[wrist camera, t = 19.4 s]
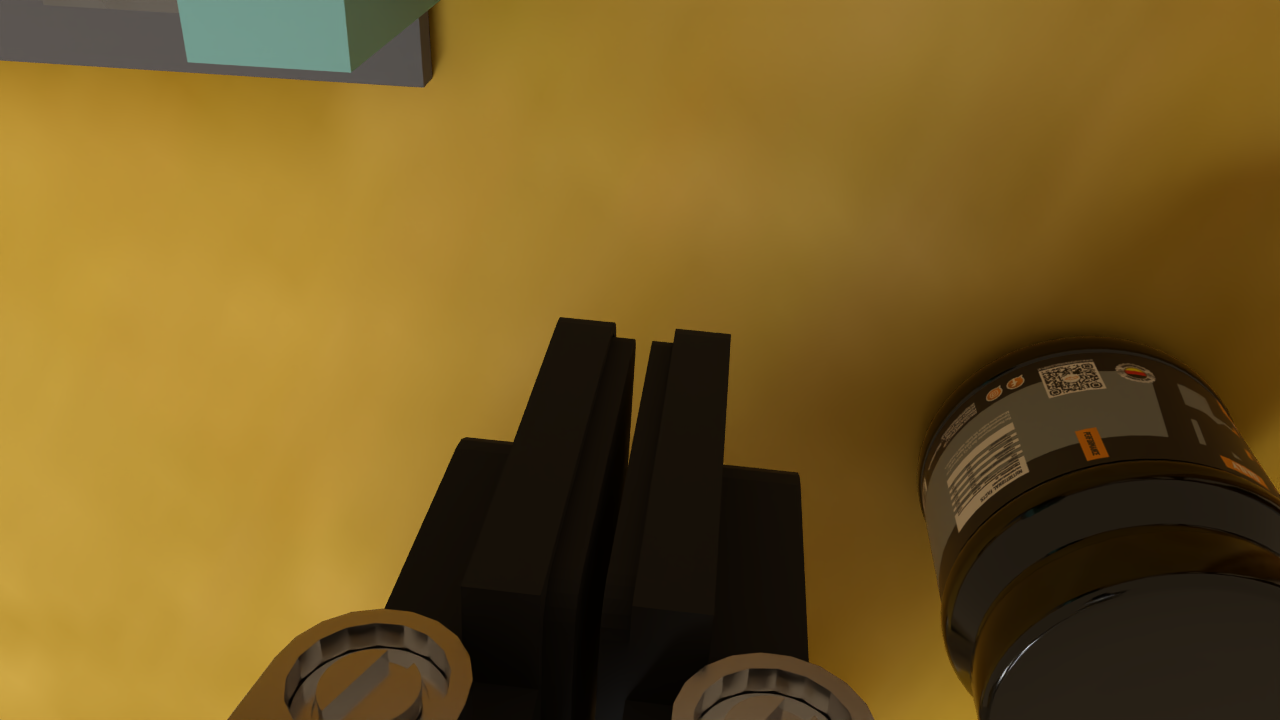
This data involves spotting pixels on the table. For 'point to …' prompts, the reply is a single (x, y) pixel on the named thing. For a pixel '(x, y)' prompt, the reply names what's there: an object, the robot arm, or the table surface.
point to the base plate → (177, 45)
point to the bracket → (120, 4)
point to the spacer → (293, 31)
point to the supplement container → (1102, 540)
